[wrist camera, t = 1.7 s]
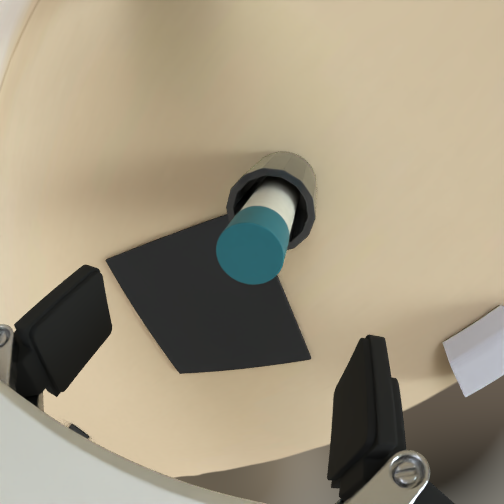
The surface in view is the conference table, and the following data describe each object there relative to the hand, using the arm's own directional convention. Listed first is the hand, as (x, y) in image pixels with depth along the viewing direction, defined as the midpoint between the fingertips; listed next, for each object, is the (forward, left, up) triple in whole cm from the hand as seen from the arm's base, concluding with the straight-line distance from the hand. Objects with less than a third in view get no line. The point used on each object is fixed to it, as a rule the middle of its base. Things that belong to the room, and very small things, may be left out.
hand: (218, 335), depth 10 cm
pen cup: (0, 0, -19) cm, 19 cm away
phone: (+53, -93, -19) cm, 109 cm away
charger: (+25, +21, -20) cm, 38 cm away
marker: (0, 0, -19) cm, 19 cm away
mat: (+11, -14, -19) cm, 26 cm away
